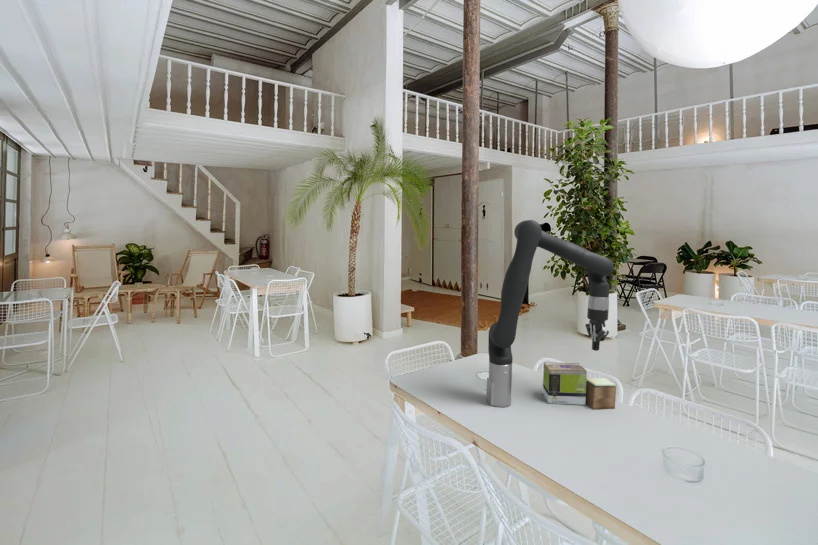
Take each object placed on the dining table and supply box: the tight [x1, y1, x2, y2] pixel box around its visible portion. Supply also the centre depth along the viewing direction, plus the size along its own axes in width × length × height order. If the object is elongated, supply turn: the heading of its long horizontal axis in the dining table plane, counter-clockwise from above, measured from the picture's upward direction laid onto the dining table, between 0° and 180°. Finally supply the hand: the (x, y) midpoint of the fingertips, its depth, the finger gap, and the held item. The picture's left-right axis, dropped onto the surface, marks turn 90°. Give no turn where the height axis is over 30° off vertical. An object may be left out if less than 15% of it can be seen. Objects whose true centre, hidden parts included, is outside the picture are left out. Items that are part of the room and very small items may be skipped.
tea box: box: [542, 361, 587, 406], centre depth 170 cm, size 15×10×15 cm
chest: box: [585, 380, 617, 410], centre depth 165 cm, size 9×7×9 cm
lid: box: [586, 377, 617, 387], centre depth 164 cm, size 9×7×1 cm
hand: (595, 350), depth 163 cm, fingers closed
